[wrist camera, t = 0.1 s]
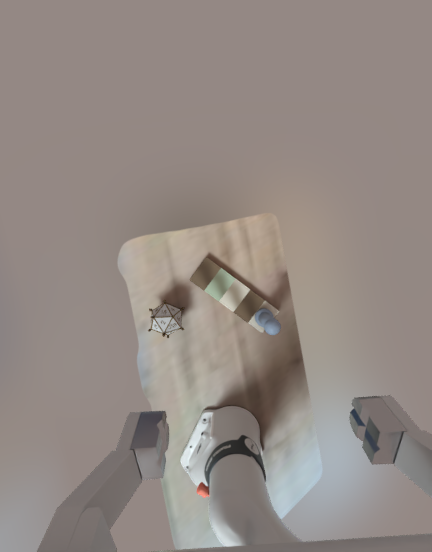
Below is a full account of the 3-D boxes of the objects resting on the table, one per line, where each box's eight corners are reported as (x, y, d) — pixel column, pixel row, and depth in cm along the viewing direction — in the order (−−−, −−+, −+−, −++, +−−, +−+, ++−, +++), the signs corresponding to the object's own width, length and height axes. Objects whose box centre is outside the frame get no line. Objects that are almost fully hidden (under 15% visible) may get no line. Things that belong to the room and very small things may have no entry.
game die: (176, 306, 67) (192, 298, 59) (175, 339, 64) (192, 335, 56) (142, 304, 62) (155, 295, 54) (140, 339, 60) (153, 335, 51)
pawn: (265, 329, 62) (276, 343, 51) (251, 318, 62) (259, 331, 51) (276, 315, 62) (289, 326, 51) (261, 304, 62) (272, 313, 50)
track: (261, 332, 63) (262, 333, 62) (190, 279, 63) (189, 279, 61) (278, 310, 63) (279, 311, 62) (206, 257, 62) (206, 256, 61)
